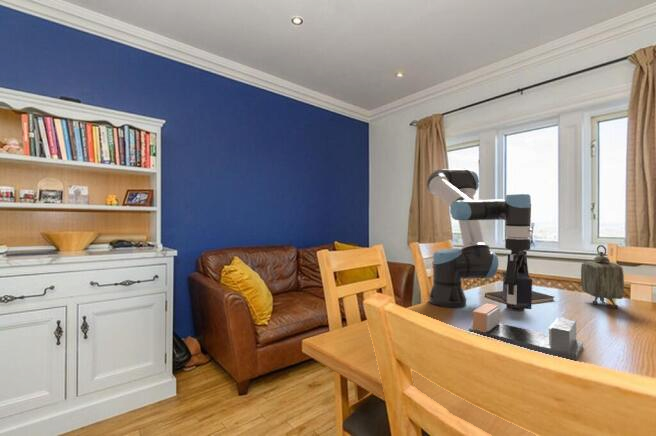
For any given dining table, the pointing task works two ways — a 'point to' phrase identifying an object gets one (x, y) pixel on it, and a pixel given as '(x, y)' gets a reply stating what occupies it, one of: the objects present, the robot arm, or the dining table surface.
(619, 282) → the tabletop clock
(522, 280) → the small box
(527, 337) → the vise
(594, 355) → the dining table surface
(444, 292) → the robot arm
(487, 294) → the hardcover book
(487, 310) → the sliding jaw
